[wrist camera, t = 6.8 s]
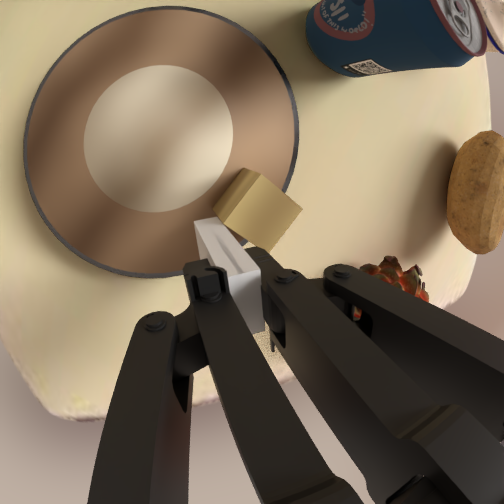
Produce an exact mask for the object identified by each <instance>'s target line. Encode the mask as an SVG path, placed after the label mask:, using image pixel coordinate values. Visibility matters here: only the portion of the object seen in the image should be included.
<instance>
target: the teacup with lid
mask: <svg viewBox="0 0 504 504" xmlns="http://www.w3.org/2000/svg"><path fill="white" fill-rule="evenodd" d="M475 1H476V3H477V5H478V7H479V9H480V12H481V14H482V17H483V20H484V23H485V27H486V31H487V49H486V52H500V53H502V54H504V0H475Z"/></svg>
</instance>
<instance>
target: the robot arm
mask: <svg viewBox="0 0 504 504" xmlns="http://www.w3.org/2000/svg"><path fill="white" fill-rule="evenodd" d="M194 227H195V233H196V239H197V244H198V250H199V256H200V260H197V261H193V262H188V263H185V265H184V267H183V269H182V270H183V274H184V279H185V283H186V287H187V292H188V296H189V300H190V305H189V307H188V308H187V309H186V310H185V311H184V312H182V313H181V314H179V315H177V316H175V317H174V316H173V315H172V314H171V313H168V312H164V311H157V312H152V313H149V314H147V315H145V316H143V317H142V318H141V319H140V320H139V321H138V322H137V324H136V326H135V329H134V331H133V334H132V337H131V340H130V343H129V346H128V349H127V351H126V354H125V357H124V360H123V363H122V367H121V370H120V373H119V376H118V379H117V382H116V386H115V389H114V392H113V396H112V399H111V402H110V406H109V409H108V413H107V417H106V420H105V424H104V428H103V432H102V436H101V440H100V444H99V448H98V452H97V457H96V461H95V466H94V470H93V476H92V481H91V486H90V491H89V497H88V503H87V504H188V483H189V481H188V480H189V479H188V478H189V448H190V426H191V409H192V393H193V379H194V377H193V373H194V372H196V371H198V370H200V369H202V368H204V367H205V366H207V365H209V368H210V371H211V374H212V377H213V380H214V383H215V386H216V389H217V392H218V395H219V398H220V401H221V404H222V407H223V410H224V412H225V415H226V418H227V421H228V424H229V427H230V429H231V432H232V434H233V437H234V440H235V442H236V445H237V448H238V450H239V453H240V455H241V458H242V460H243V463H244V465H245V468H246V470H247V472H248V475H249V477H250V480H251V482H252V484H253V487H254V489H255V491H256V494H257V496H258V498H259V500H260V502H261V504H364V503H363V502H362V500H361V499H360V497H359V496H358V494H357V493H356V492H355V490H354V489H353V488H352V487H351V485H350V484H349V483H348V482H346V481H345V480H344V479H342V478H340V477H337V476H335V474H333V473H332V471H331V470H330V468H329V467H328V465H327V464H326V462H325V460H324V459H323V457H322V456H321V454H320V452H319V451H318V449H317V448H316V446H315V444H314V442H313V441H312V439H311V438H310V436H309V434H308V432H307V431H306V429H305V427H304V426H303V424H302V422H301V421H300V419H299V417H298V416H297V414H296V412H295V410H294V409H293V407H292V405H291V404H290V402H289V400H288V398H287V397H286V395H285V393H284V391H283V390H282V388H281V386H280V384H279V382H278V381H277V379H276V377H275V375H274V374H273V372H272V370H271V368H270V366H269V365H268V363H267V361H266V359H265V357H264V356H263V354H262V352H261V350H260V348H259V346H258V345H257V343H256V341H255V339H254V337H253V335H252V334H255V333H259V332H262V331H265V321H266V323H267V324H268V326H269V329H270V344H271V351H272V352H275V349H274V346H275V345H276V347H277V348H278V350H279V352H280V353H281V355H282V356H283V358H284V359H285V361H286V362H287V364H288V366H289V367H290V369H291V370H292V372H293V373H294V375H295V376H296V378H297V379H298V381H299V382H300V384H301V385H302V387H303V388H304V390H305V391H306V393H307V394H308V396H309V397H310V399H311V400H312V402H313V403H314V405H315V406H316V408H317V409H318V411H319V412H320V414H321V415H322V417H323V418H324V420H325V421H326V423H327V424H328V426H329V427H330V428H331V430H332V431H333V433H334V434H335V436H336V437H337V439H338V440H339V441H340V443H341V444H342V446H343V447H344V449H345V450H346V452H347V453H348V454H349V456H350V457H351V459H352V460H353V461H354V463H355V464H356V466H357V467H358V469H359V470H360V471H361V473H362V474H363V475H364V477H365V480H366V485H367V490H368V493H369V495H370V496H371V498H372V500H373V501H374V502H375V504H504V341H503V340H501V339H499V338H497V337H496V336H494V335H492V334H490V333H488V332H486V331H484V330H482V329H480V328H478V327H476V326H474V325H472V324H470V323H468V322H466V321H465V320H462V319H461V318H458V317H457V316H455V315H453V314H451V313H449V312H447V311H445V310H443V309H441V308H438V307H436V306H434V305H432V304H430V303H428V302H426V301H424V300H422V299H420V298H418V297H416V296H414V295H412V294H410V293H408V292H406V291H403V290H401V289H399V288H397V287H395V286H393V285H391V284H389V283H387V282H384V281H382V280H380V279H378V278H376V277H374V276H372V275H370V274H367V273H365V272H363V271H361V270H359V269H357V268H354V267H352V266H349V265H343V264H335V265H332V266H329V267H327V268H326V269H325V270H324V276H323V278H317V279H307V278H305V277H304V276H303V275H302V274H301V273H300V272H298V271H296V270H292V269H284V268H283V267H282V266H281V265H280V264H279V263H278V262H277V261H276V260H275V259H273V257H272V256H271V255H270V254H269V253H268V252H267V251H266V250H265V249H262V248H260V247H257V246H256V247H251V248H247V249H243V248H242V246H241V245H240V244H239V243H238V241H237V240H236V239H235V238H234V237H233V235H232V234H231V233H230V232H229V230H228V229H227V228H226V227H225V226H224V224H223V223H222V222H221V221H220V219H219V218H218V217H212V218H207V219H202V220H197V221H194ZM355 306H356V307H357V308H359V309H361V310H362V312H361V317H360V318H357V317H355V316H354V313H355ZM264 319H265V320H264ZM500 442H501V443H500ZM423 475H424V477H423Z"/></svg>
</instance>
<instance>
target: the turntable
mask: <svg viewBox="0 0 504 504" xmlns="http://www.w3.org/2000/svg"><path fill="white" fill-rule="evenodd" d="M293 146H294V118H293V111H292V105H291V102H290V98H289V95H288V91H287V88H286V86H285V84H284V82H283V79H282V77H281V75H280V73H279V71H278V70H277V68H276V67H275V65H274V63H273V62H272V60H271V59H270V58H269V57H268V55H267V54H266V53H265V52H264V51H263V49H262V48H261V47H260V46H259V45H258V44H257V43H255V42H254V41H253V40H252V39H251V38H250V37H249V36H247V35H246V34H245V33H243V32H242V31H240V30H239V29H237V28H236V27H234V26H232V25H230V24H228V23H226V22H224V21H222V20H220V19H218V18H215V17H212V16H209V15H205V14H202V13H197V12H192V11H186V10H169V9H165V10H153V11H146V12H141V13H137V14H133V15H129V16H126V17H123V18H121V19H118V20H115V21H113V22H111V23H109V24H107V25H105V26H103V27H101V28H99V29H97V30H96V31H94V32H93V33H91V34H90V35H88V36H87V37H86V38H84V39H83V40H81V41H80V42H79V43H78V44H77V45H76V46H74V47H73V48H72V49H71V50H70V51H69V52H68V53H67V54H66V55H65V56H64V57H63V58H62V60H61V61H60V62H59V63H58V65H57V66H56V67H55V68H54V69H53V71H52V73H51V74H50V76H49V77H48V79H47V80H46V82H45V84H44V85H43V87H42V90H41V92H40V94H39V96H38V98H37V101H36V103H35V106H34V109H33V113H32V116H31V120H30V125H29V131H28V138H27V161H28V169H29V175H30V179H31V183H32V187H33V191H34V193H35V196H36V198H37V200H38V203H39V205H40V207H41V209H42V211H43V212H44V214H45V216H46V217H47V219H48V221H49V222H50V223H51V225H52V226H53V227H54V228H55V230H56V231H57V232H58V233H59V234H60V235H61V236H62V237H63V238H64V239H65V240H66V241H67V242H68V243H69V244H70V245H71V246H73V247H74V248H75V249H77V250H78V251H80V252H81V253H83V254H84V255H86V256H87V257H89V258H91V259H93V260H95V261H97V262H99V263H101V264H104V265H107V266H110V267H112V268H115V269H120V270H124V271H129V272H137V273H167V272H173V271H180V270H182V269H183V267H184V265H185V263H188V262H193V261H197V260H200V256H199V250H198V244H197V239H196V233H195V227H194V221H197V220H202V219H207V218H212V217H218V218H219V219H220V221H221V222H222V223H223V224H224V226H225V227H226V228H227V229H228V230H229V232H230V233H231V234H232V235H233V237H234V238H235V239H236V240H237V241H238V243H239V242H241V241H242V240H243V239H244V238H245V239H246V240H248V241H249V242H251V243H252V244H254V245H255V246H257V247H260V248H262V249H265V250H266V251H267V252H268V253H269V252H270V251H271V250H272V248H273V247H274V246H275V244H276V243H277V242H278V241H279V239H280V238H281V237H282V235H283V234H284V233H285V231H286V230H287V229H288V228H289V226H290V225H291V224H292V222H293V221H294V220H295V218H296V217H297V216H298V215H299V213H300V212H301V211H302V208H301V207H300V206H299V205H298V204H296V203H295V202H294V201H293V200H292V199H291V198H289V197H288V196H287V195H286V194H285V193H284V192H282V191H281V190H282V188H283V185H284V182H285V180H286V177H287V174H288V172H289V168H290V164H291V159H292V155H293Z"/></svg>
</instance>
